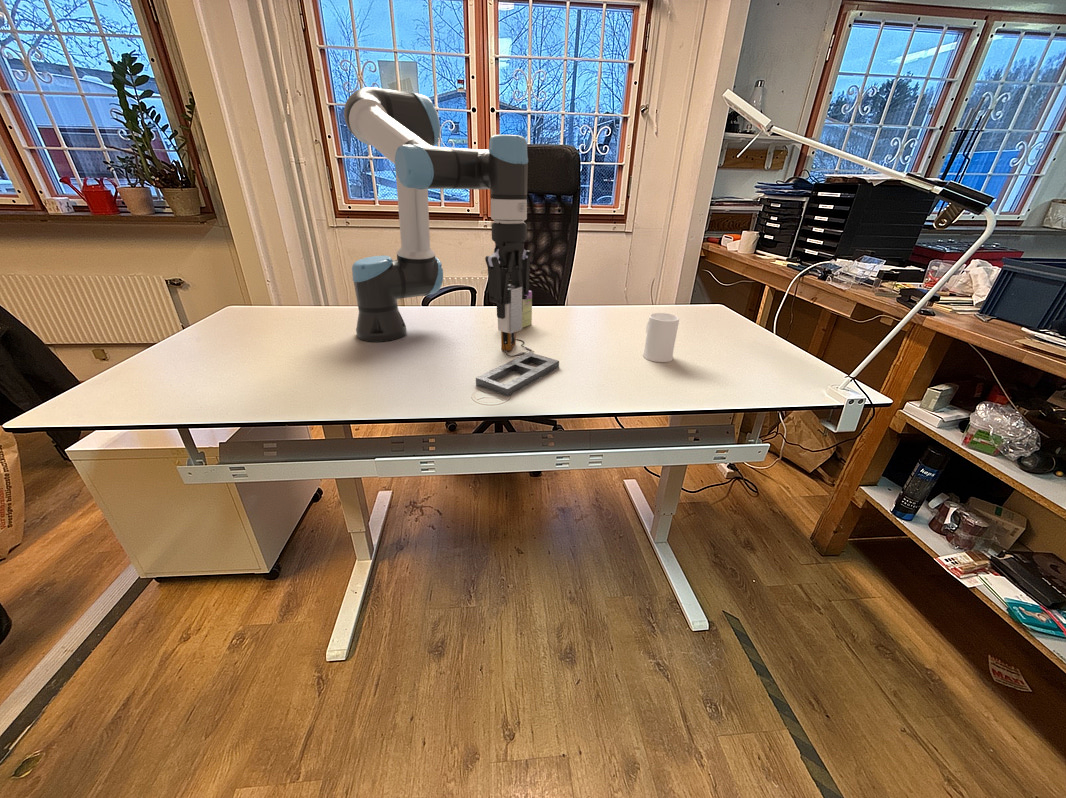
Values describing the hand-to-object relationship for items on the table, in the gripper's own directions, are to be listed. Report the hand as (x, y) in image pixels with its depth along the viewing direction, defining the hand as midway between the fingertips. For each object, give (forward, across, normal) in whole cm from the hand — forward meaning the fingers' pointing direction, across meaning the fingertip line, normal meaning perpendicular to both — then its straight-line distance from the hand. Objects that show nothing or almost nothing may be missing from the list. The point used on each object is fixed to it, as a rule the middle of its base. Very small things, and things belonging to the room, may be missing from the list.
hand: (510, 328), depth 99 cm
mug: (+14, +41, -22) cm, 49 cm away
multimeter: (+14, +20, +12) cm, 27 cm away
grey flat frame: (+14, +4, 0) cm, 14 cm away
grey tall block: (0, 0, 0) cm, 0 cm away
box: (+14, +36, +26) cm, 47 cm away
